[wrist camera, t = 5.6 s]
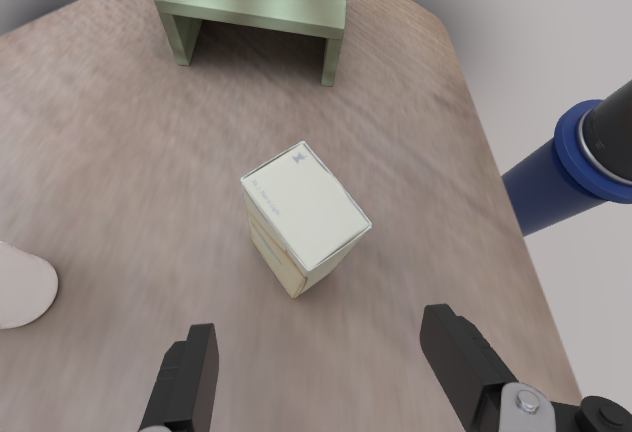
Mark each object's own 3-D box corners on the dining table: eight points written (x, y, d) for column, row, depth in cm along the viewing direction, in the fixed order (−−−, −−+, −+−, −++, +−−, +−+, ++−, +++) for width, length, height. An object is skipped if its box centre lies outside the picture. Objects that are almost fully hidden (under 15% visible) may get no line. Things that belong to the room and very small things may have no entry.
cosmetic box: (251, 241, 28) (232, 176, 17) (293, 213, 30) (302, 135, 18) (294, 302, 27) (305, 275, 16) (337, 270, 28) (375, 224, 17)
